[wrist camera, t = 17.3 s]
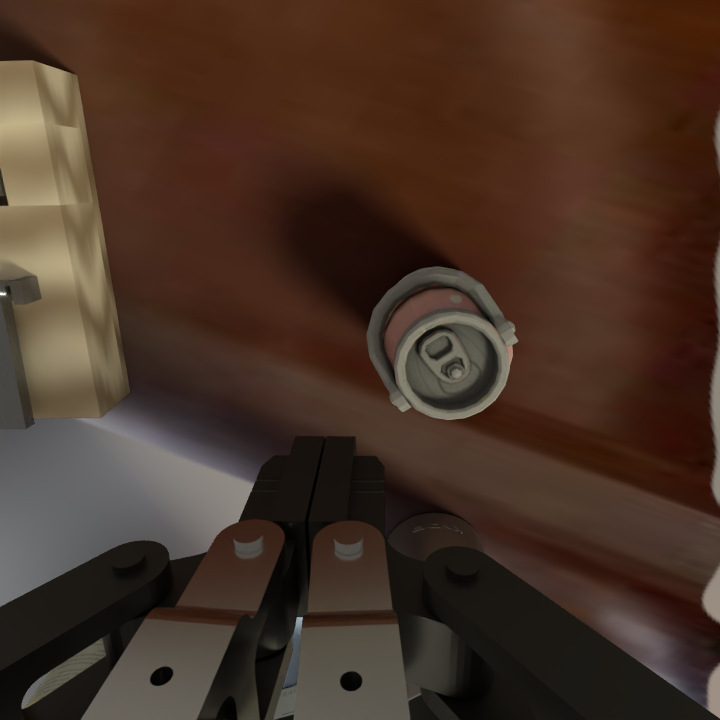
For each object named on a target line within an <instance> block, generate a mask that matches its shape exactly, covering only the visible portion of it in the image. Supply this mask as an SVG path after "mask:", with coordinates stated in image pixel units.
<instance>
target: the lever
mask: <svg viewBox="0 0 720 720" xmlns="http://www.w3.org/2000/svg"><path fill="white" fill-rule="evenodd" d="M9 281H11V280H0V429H27V428H29V427H30V426H32V425H34V424H35V423H34V418H33V413H32V407H31V402H30V397H29V391H28V386H27V381H26V375H25V370H24V365H23V359H22V354H21V349H20V343H19V338H18V333H17V327H16V322H15V317H14V311H13V306H12V301H13V298H12V294H11V290H10V285H9Z"/></svg>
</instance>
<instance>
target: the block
mask: <svg viewBox="0 0 720 720" xmlns="http://www.w3.org/2000/svg"><path fill="white" fill-rule="evenodd" d="M0 168H1V173H2V177H3V182H4V186H5V191H6V195H7V196H0V280H11V281H9V285H10V290H11V294H12V298H13V301H12V306H13V311H14V317H15V322H16V327H17V333H18V338H19V343H20V349H21V354H22V359H23V365H24V370H25V375H26V381H27V386H28V391H29V397H30V402H31V407H32V413H33V418H101V417H103V416H104V415H105V414H106V413H107V412H108V411H110V410H111V409H112V408H113V407H114V406H115V405H117V404H118V403H119V402H120V401H121V400H122V399H124V398H125V397H126V396H127V395H128V394H130V387H129V381H128V375H127V369H126V363H125V357H124V351H123V345H122V340H121V334H120V328H119V322H118V316H117V310H116V304H115V298H114V292H113V286H112V280H111V274H110V268H109V262H108V256H107V250H106V245H105V239H104V233H103V227H102V221H101V215H100V209H99V203H98V197H97V191H96V185H95V179H94V173H93V167H92V161H91V155H90V150H89V144H88V138H87V132H86V126H85V120H84V114H83V108H82V102H81V96H80V90H79V84H78V78H77V75H75V74H72V73H69V72H66V71H63V70H60V69H57V68H54V67H51V66H48V65H45V64H42V63H39V62H36V61H33V60H27V61H0Z"/></svg>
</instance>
